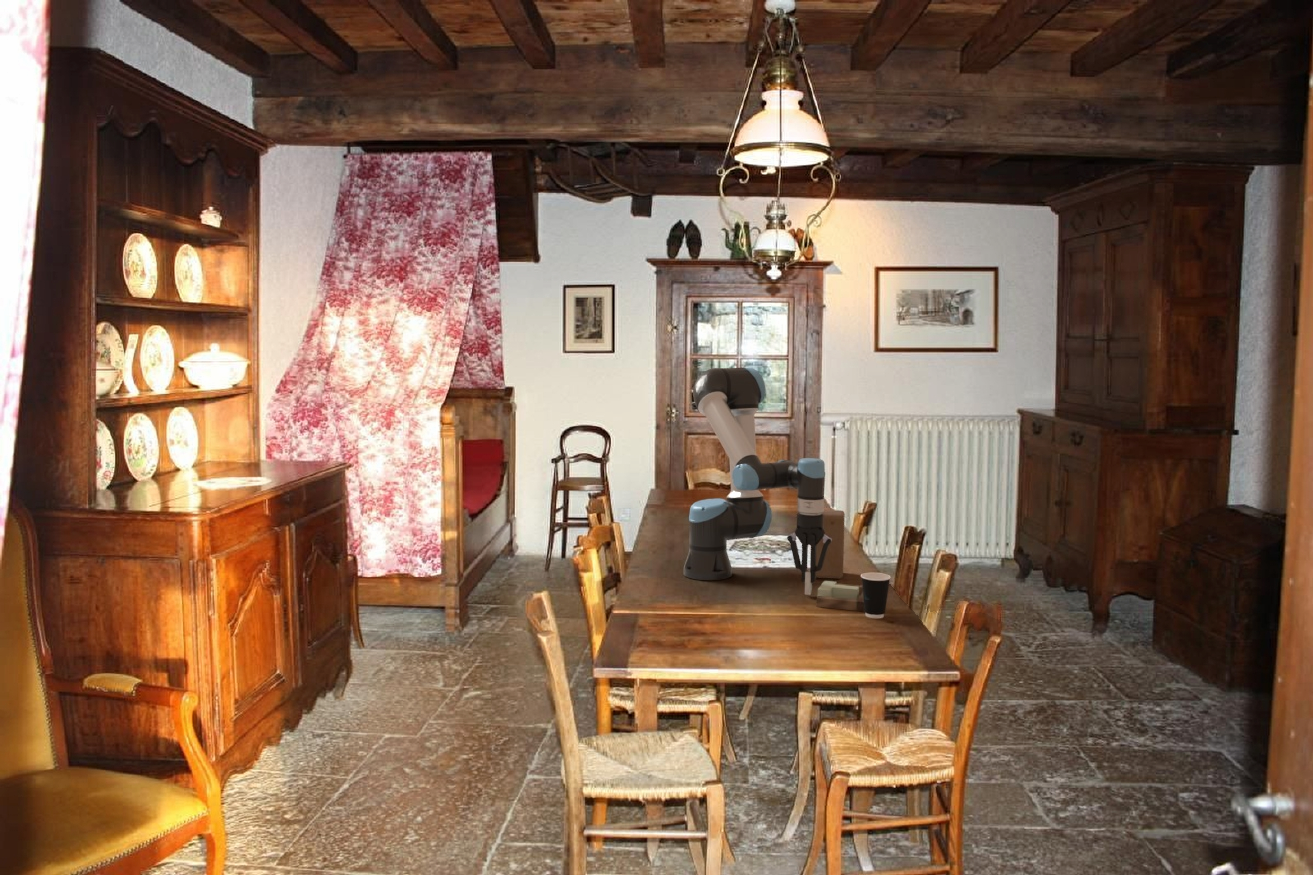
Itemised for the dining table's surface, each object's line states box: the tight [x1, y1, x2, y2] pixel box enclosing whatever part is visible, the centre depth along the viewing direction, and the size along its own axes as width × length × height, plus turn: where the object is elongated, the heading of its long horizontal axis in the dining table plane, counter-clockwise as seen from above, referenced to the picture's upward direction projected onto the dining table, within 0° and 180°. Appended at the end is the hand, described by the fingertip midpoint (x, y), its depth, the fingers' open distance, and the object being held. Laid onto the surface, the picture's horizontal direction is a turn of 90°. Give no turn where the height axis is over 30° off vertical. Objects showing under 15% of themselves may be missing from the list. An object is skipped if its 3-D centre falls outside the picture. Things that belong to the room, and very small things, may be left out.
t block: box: [817, 580, 860, 600], centre depth 284 cm, size 10×10×4 cm
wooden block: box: [809, 509, 846, 580], centre depth 312 cm, size 10×10×20 cm
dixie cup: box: [860, 572, 891, 619], centre depth 268 cm, size 8×8×11 cm
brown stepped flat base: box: [816, 583, 864, 612], centre depth 283 cm, size 13×18×2 cm
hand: (808, 593), depth 287 cm, fingers closed
